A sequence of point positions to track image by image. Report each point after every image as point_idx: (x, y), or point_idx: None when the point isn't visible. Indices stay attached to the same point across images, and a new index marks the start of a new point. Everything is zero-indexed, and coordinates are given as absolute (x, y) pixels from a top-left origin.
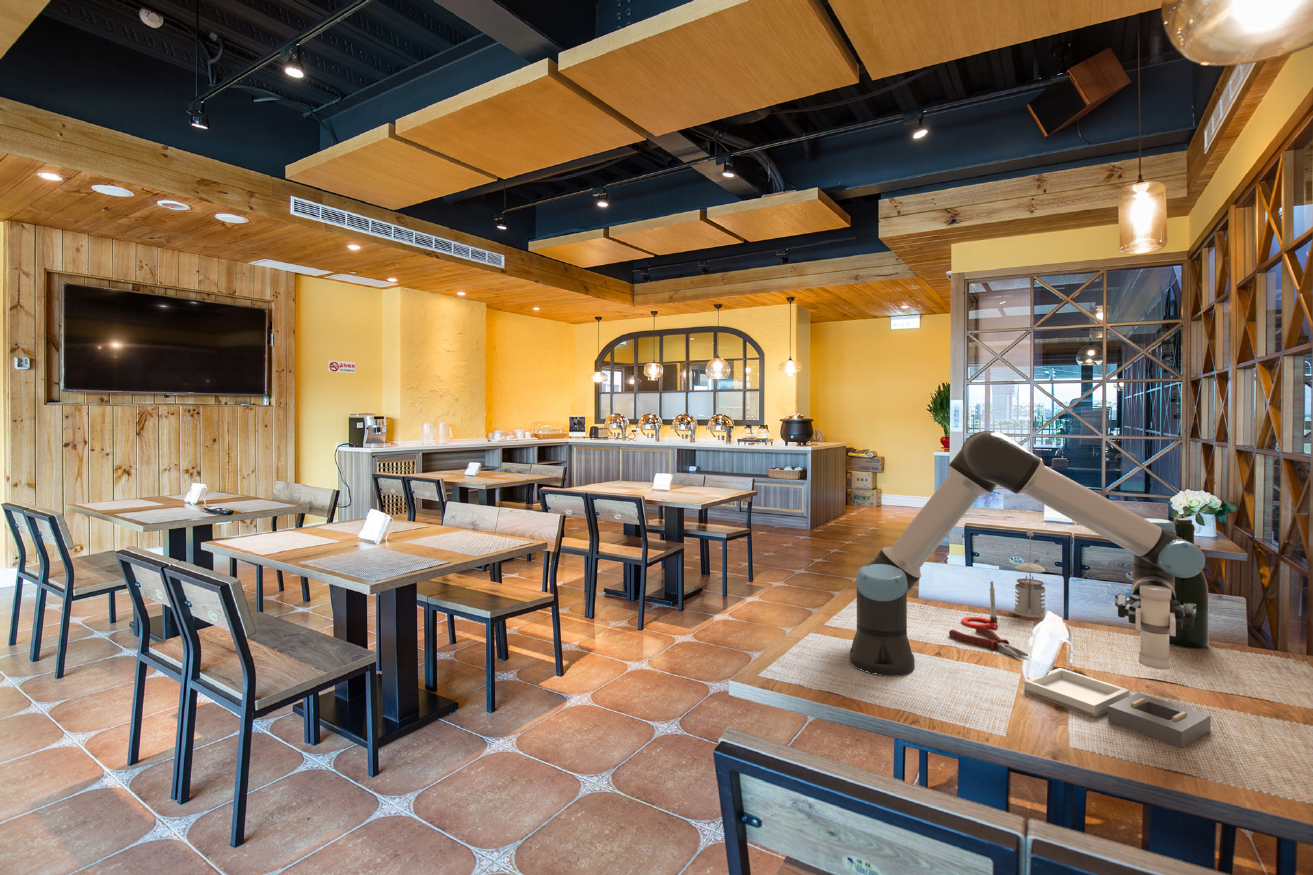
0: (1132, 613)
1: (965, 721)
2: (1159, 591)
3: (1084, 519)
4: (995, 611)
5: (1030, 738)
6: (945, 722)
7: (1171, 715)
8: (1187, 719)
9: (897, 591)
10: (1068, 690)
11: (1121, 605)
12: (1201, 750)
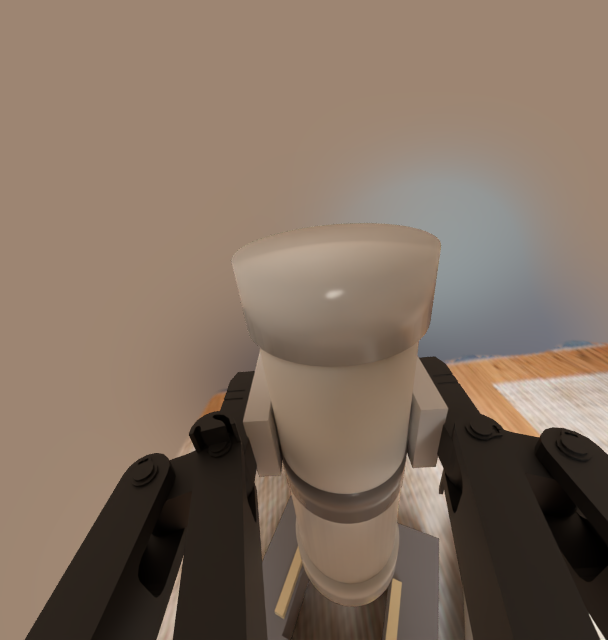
0: (430, 368)
1: (558, 389)
2: (306, 228)
3: None
4: None
5: (469, 395)
6: (566, 374)
7: None
8: (278, 578)
9: None
10: None
11: (553, 427)
12: (269, 515)
